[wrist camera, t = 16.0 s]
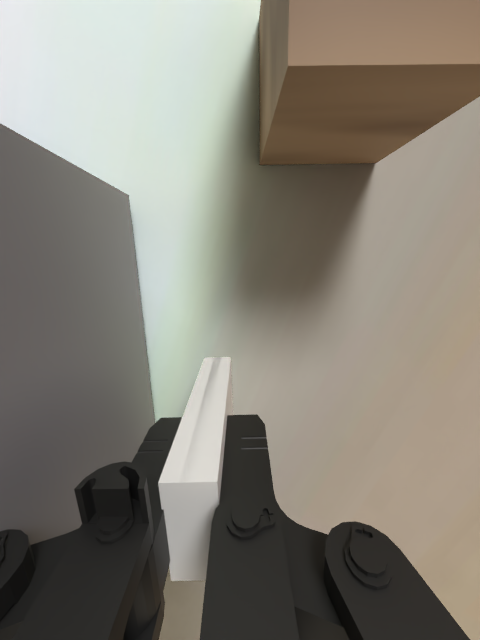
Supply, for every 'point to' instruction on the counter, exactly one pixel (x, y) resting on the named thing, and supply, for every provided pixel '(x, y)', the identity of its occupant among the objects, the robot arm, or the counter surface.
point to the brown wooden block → (361, 75)
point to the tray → (64, 336)
